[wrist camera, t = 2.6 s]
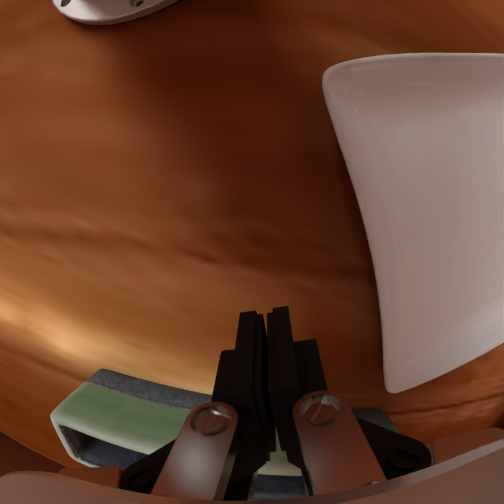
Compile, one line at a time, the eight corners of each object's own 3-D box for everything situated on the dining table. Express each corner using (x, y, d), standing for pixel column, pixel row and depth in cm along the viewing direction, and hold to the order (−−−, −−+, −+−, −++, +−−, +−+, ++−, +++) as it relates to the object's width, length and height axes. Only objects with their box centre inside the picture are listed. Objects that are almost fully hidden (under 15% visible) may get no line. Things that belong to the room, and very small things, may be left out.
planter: (400, 400, 22) (425, 461, 16) (367, 443, 25) (381, 499, 18) (85, 351, 21) (45, 412, 14) (96, 404, 24) (69, 459, 17)
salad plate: (374, 373, 21) (387, 403, 18) (303, 79, 14) (314, 65, 11) (549, 284, 18) (569, 299, 15) (533, 59, 11) (560, 57, 8)
